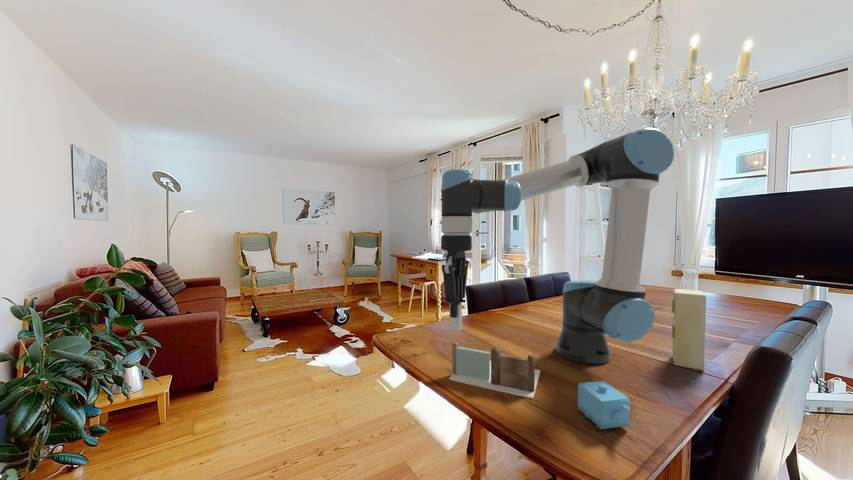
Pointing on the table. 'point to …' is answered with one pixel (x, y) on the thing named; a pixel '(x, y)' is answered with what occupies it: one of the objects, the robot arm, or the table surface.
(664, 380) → the table surface
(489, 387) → the card
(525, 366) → the fixed fence
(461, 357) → the swing panel
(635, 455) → the table surface
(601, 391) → the teapot
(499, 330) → the table surface
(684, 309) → the toy refrigerator
